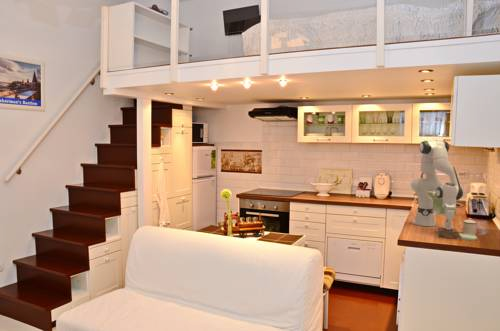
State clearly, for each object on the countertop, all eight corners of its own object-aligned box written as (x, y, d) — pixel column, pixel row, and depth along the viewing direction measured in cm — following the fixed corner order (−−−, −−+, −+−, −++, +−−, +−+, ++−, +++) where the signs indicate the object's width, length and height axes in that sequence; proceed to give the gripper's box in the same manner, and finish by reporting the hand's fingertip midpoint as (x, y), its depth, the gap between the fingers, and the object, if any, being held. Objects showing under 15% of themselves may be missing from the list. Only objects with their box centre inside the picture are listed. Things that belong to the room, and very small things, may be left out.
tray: (458, 235, 285) (458, 233, 285) (474, 237, 281) (474, 234, 281) (460, 239, 274) (461, 236, 274) (477, 241, 270) (477, 238, 270)
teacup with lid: (474, 232, 296) (475, 217, 295) (477, 235, 287) (478, 220, 286) (457, 231, 300) (458, 216, 299) (459, 233, 291) (460, 218, 291)
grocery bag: (453, 213, 377) (455, 189, 376) (456, 215, 364) (457, 191, 362) (418, 210, 387) (419, 188, 386) (419, 213, 374) (421, 189, 373)
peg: (443, 235, 285) (444, 220, 285) (450, 235, 284) (451, 221, 283) (444, 236, 281) (445, 221, 281) (451, 237, 280) (452, 222, 279)
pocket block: (437, 233, 290) (438, 227, 290) (455, 235, 286) (456, 228, 286) (439, 237, 279) (439, 230, 279) (457, 239, 275) (458, 232, 274)
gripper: (443, 203, 292) (442, 221, 292) (445, 206, 273) (445, 226, 273) (452, 203, 289) (451, 221, 290) (455, 207, 270) (455, 226, 271)
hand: (448, 223), depth 282 cm, fingers open, 8 cm apart
